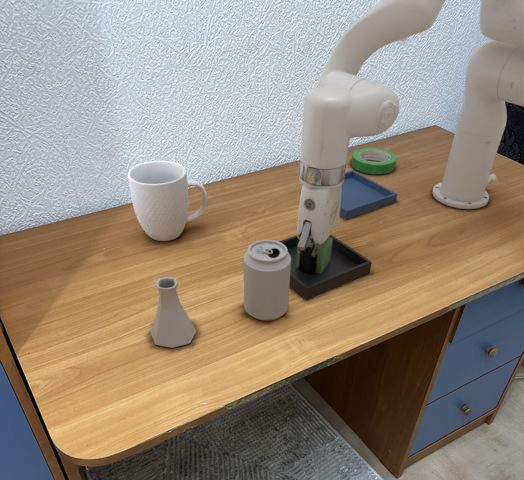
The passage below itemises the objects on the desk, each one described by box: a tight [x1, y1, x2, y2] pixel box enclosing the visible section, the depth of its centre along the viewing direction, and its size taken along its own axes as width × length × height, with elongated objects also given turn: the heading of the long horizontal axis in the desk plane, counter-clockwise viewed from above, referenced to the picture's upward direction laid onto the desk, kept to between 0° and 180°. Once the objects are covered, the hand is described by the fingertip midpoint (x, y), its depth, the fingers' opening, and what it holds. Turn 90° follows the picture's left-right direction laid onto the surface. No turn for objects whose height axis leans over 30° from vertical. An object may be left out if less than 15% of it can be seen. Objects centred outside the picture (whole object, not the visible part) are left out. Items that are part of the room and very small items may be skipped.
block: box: [296, 235, 333, 274], centre depth 95 cm, size 5×5×5 cm
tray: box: [340, 169, 398, 220], centre depth 117 cm, size 15×15×2 cm
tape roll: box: [350, 147, 397, 175], centre depth 130 cm, size 11×11×3 cm
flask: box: [150, 276, 197, 349], centre depth 78 cm, size 7×7×10 cm
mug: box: [127, 160, 209, 242], centre depth 101 cm, size 15×11×13 cm
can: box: [243, 239, 291, 321], centre depth 83 cm, size 8×8×12 cm
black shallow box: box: [278, 233, 373, 301], centre depth 96 cm, size 15×15×2 cm
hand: (313, 263), depth 96 cm, fingers open, 5 cm apart
